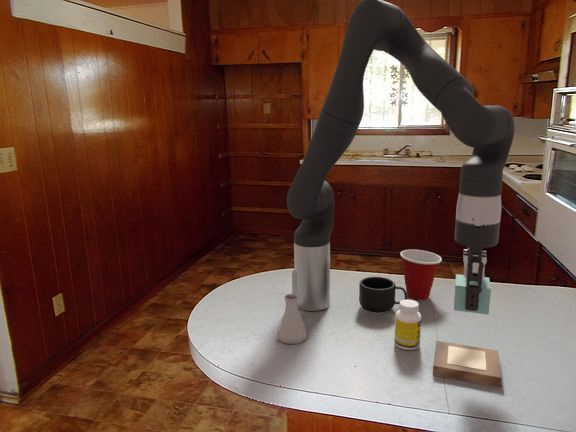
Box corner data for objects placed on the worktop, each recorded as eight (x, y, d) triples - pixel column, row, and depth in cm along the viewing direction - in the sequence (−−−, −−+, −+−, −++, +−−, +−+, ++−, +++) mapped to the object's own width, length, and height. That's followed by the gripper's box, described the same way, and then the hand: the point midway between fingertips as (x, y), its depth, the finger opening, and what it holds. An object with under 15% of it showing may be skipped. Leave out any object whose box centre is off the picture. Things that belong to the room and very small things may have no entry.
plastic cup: (444, 305, 117) (446, 261, 114) (401, 304, 117) (403, 261, 115) (434, 288, 127) (436, 248, 124) (395, 288, 128) (397, 248, 125)
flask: (311, 331, 104) (311, 291, 102) (302, 347, 98) (302, 305, 95) (282, 327, 107) (281, 288, 104) (271, 342, 100) (270, 301, 98)
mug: (357, 314, 112) (357, 288, 111) (360, 299, 121) (361, 275, 119) (406, 319, 109) (407, 292, 108) (406, 303, 118) (407, 278, 116)
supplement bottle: (420, 352, 95) (423, 309, 92) (394, 349, 96) (396, 307, 93) (418, 339, 100) (421, 298, 98) (393, 337, 101) (395, 297, 99)
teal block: (453, 310, 84) (455, 285, 83) (454, 297, 90) (456, 274, 89) (488, 314, 82) (490, 289, 81) (486, 301, 88) (489, 277, 86)
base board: (432, 374, 87) (433, 365, 86) (435, 349, 96) (436, 340, 95) (500, 387, 82) (501, 377, 82) (497, 359, 91) (498, 349, 91)
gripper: (456, 208, 90) (451, 286, 94) (455, 226, 77) (449, 316, 81) (497, 210, 87) (490, 290, 91) (503, 229, 74) (494, 322, 78)
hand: (471, 302), depth 86 cm, fingers closed on teal block, 6 cm apart
